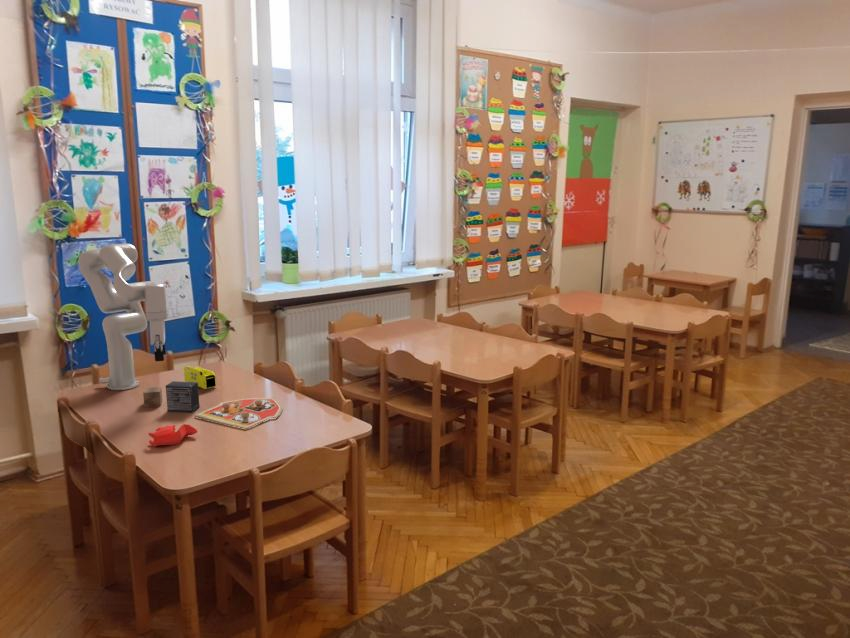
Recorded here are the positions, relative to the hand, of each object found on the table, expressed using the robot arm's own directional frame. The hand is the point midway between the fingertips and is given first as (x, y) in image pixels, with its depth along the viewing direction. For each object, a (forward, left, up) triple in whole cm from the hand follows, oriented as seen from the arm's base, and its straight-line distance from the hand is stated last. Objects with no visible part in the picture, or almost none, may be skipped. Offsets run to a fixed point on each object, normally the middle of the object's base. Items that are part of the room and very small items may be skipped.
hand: (160, 357), depth 261 cm
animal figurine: (+7, -43, -19) cm, 47 cm away
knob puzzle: (+32, -21, -19) cm, 43 cm away
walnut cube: (-4, -3, -18) cm, 19 cm away
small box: (+8, -12, -18) cm, 23 cm away
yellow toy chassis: (+13, +17, -18) cm, 28 cm away
